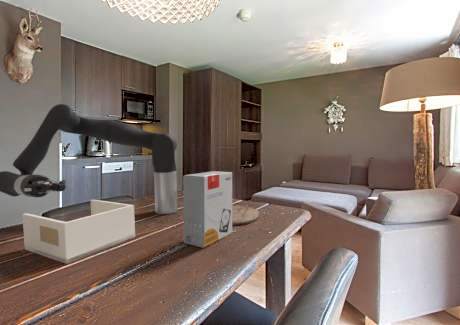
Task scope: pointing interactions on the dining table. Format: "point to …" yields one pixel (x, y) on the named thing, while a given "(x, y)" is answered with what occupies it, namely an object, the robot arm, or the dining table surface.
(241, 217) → the trivet
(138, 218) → the dining table surface
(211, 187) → the hard drive box
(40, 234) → the carton
